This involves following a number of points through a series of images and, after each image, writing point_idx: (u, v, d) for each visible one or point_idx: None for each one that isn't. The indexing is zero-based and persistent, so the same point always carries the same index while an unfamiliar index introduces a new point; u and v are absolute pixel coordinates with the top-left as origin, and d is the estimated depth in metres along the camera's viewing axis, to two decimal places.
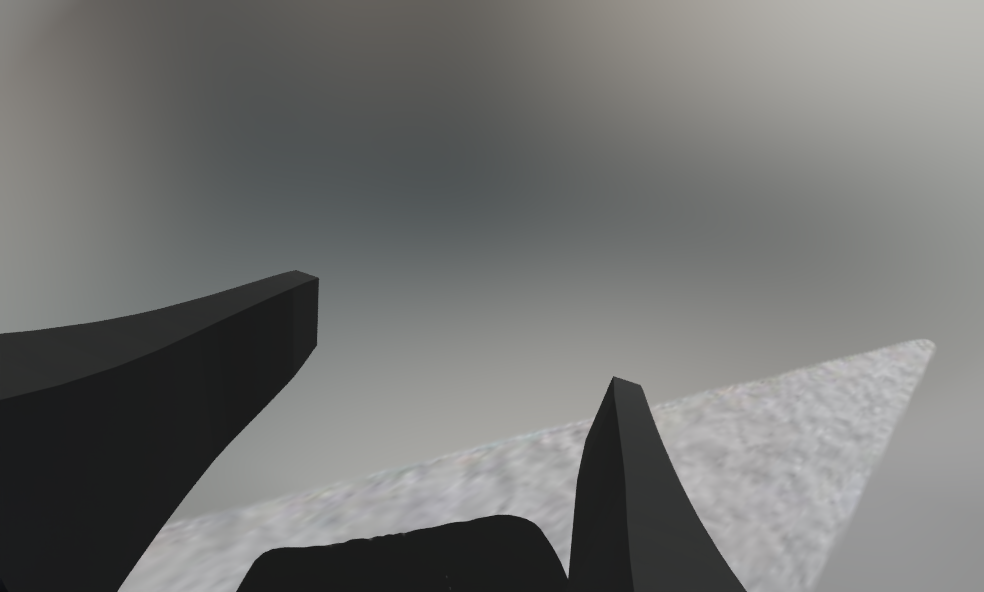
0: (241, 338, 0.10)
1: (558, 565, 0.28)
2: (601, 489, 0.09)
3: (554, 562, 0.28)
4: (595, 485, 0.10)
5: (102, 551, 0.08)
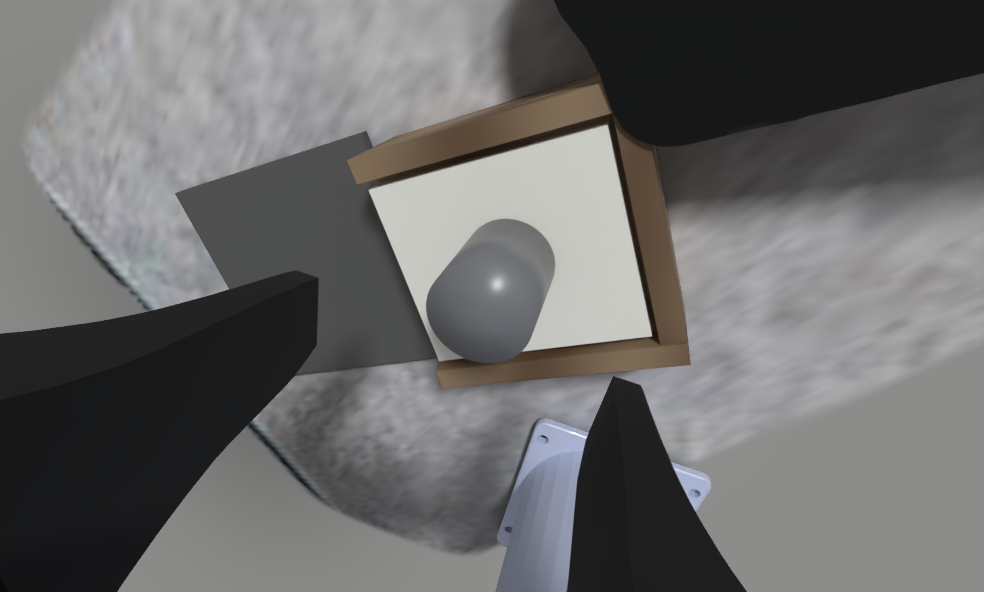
0: (241, 338, 0.10)
1: None
2: (601, 489, 0.09)
3: None
4: (595, 485, 0.10)
5: (102, 551, 0.08)
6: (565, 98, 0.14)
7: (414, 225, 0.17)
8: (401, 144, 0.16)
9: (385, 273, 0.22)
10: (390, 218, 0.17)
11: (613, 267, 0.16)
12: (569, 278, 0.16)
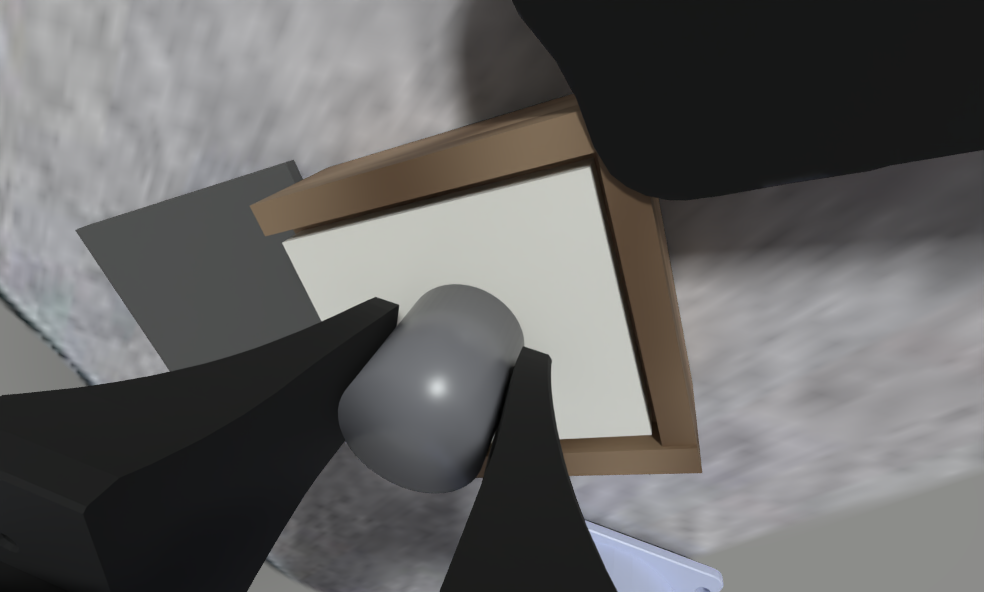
0: (337, 372, 0.10)
1: None
2: (493, 450, 0.09)
3: None
4: (492, 448, 0.10)
5: None
6: (530, 131, 0.10)
7: (342, 288, 0.13)
8: (316, 187, 0.12)
9: None
10: (312, 278, 0.13)
11: (600, 349, 0.12)
12: None
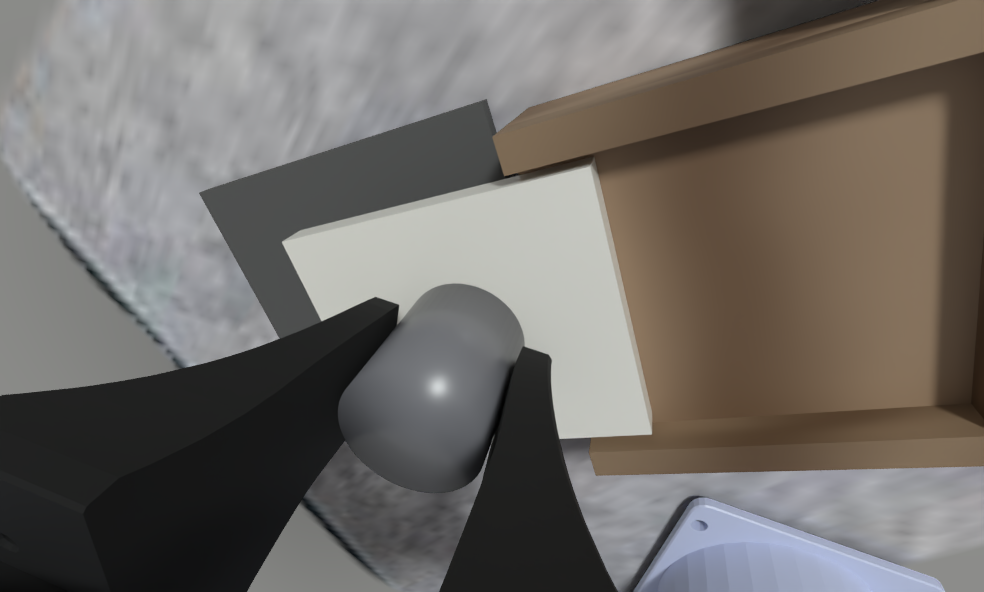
0: (336, 372, 0.10)
1: None
2: (493, 450, 0.09)
3: None
4: (492, 448, 0.10)
5: None
6: (945, 12, 0.07)
7: (342, 287, 0.13)
8: (594, 107, 0.09)
9: None
10: (312, 277, 0.13)
11: (600, 349, 0.12)
12: None
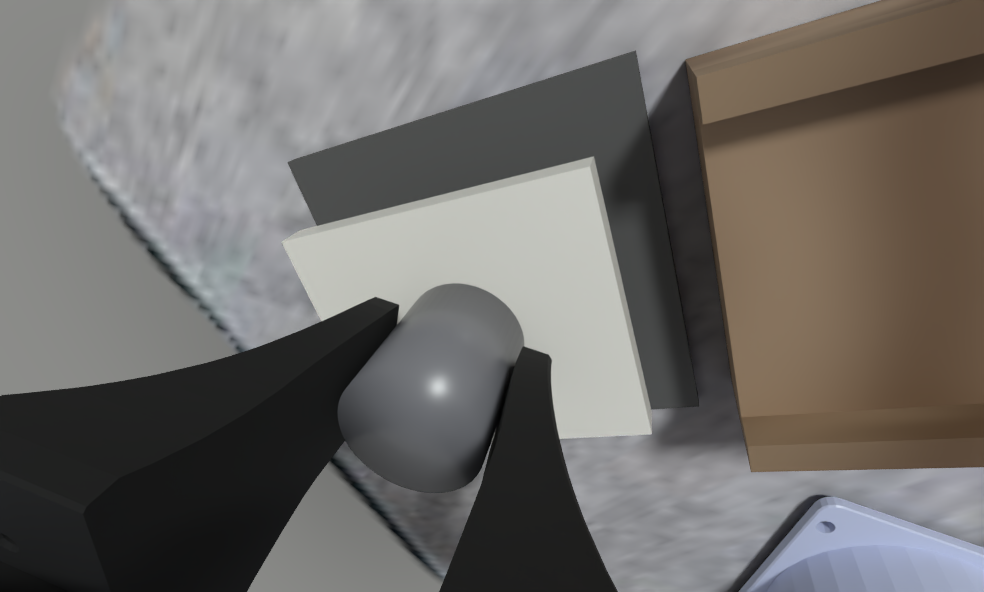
0: (336, 372, 0.10)
1: None
2: (493, 450, 0.09)
3: None
4: (492, 448, 0.10)
5: None
6: None
7: (342, 287, 0.13)
8: (835, 38, 0.08)
9: None
10: (311, 277, 0.13)
11: (600, 349, 0.12)
12: None
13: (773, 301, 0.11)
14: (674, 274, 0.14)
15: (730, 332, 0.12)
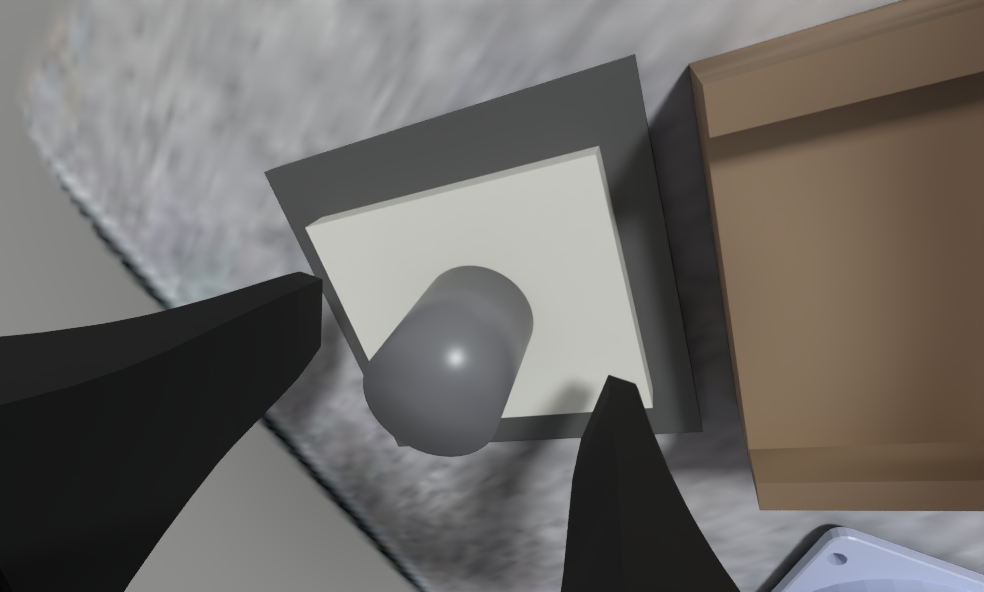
0: (246, 340, 0.10)
1: None
2: (595, 487, 0.09)
3: None
4: (590, 483, 0.10)
5: (107, 554, 0.08)
6: None
7: (362, 270, 0.14)
8: (861, 42, 0.07)
9: None
10: (333, 261, 0.14)
11: (604, 326, 0.13)
12: (551, 337, 0.13)
13: (785, 327, 0.10)
14: (676, 293, 0.13)
15: (737, 360, 0.11)
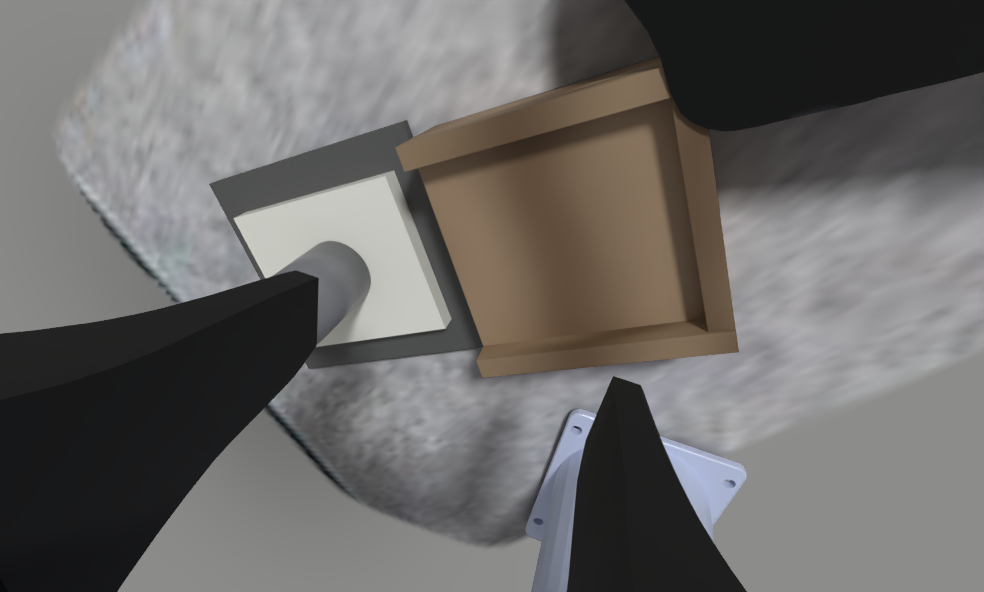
0: (241, 338, 0.10)
1: None
2: (601, 489, 0.09)
3: None
4: (595, 485, 0.10)
5: (102, 551, 0.08)
6: (623, 82, 0.14)
7: (269, 245, 0.22)
8: (452, 131, 0.16)
9: None
10: (251, 239, 0.23)
11: (409, 277, 0.21)
12: (381, 285, 0.22)
13: (480, 271, 0.19)
14: None
15: (463, 290, 0.19)
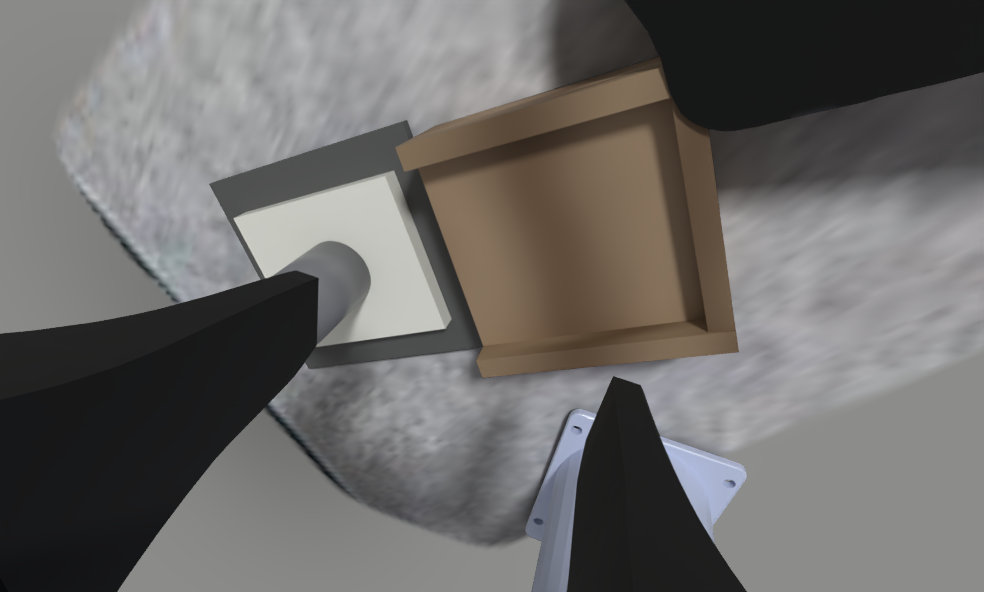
0: (241, 338, 0.10)
1: None
2: (601, 489, 0.09)
3: None
4: (595, 485, 0.10)
5: (102, 551, 0.08)
6: (623, 82, 0.14)
7: (269, 245, 0.22)
8: (452, 131, 0.16)
9: None
10: (251, 239, 0.23)
11: (409, 277, 0.21)
12: (381, 285, 0.22)
13: (480, 271, 0.19)
14: None
15: (463, 290, 0.19)
